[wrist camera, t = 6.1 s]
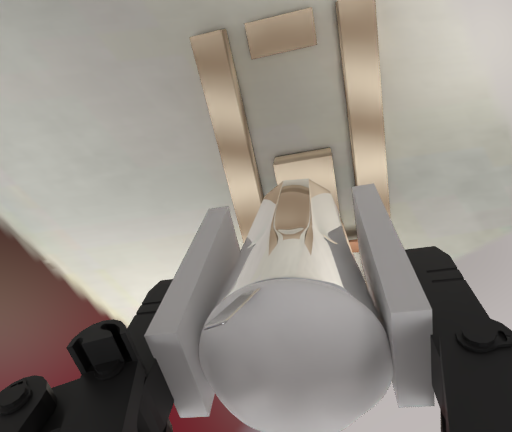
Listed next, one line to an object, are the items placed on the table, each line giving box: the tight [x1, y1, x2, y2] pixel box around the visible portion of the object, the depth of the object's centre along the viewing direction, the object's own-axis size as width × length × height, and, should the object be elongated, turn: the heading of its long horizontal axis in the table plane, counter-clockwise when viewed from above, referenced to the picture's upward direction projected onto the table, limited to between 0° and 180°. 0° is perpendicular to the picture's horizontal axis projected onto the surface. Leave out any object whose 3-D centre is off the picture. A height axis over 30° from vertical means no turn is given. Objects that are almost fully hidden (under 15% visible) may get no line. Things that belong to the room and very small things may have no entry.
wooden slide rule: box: [189, 0, 390, 290], centre depth 31 cm, size 28×12×2 cm, turn 12°
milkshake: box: [199, 179, 393, 432], centre depth 12 cm, size 4×5×10 cm
